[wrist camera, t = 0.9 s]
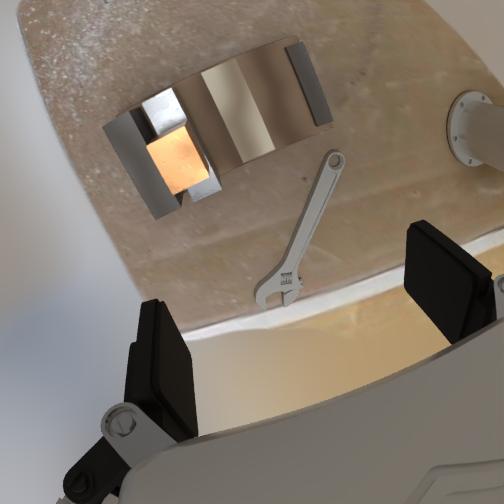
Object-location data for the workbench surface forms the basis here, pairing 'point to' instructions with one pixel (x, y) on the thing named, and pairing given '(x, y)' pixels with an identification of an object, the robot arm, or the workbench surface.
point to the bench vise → (230, 115)
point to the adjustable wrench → (301, 237)
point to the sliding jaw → (180, 147)
